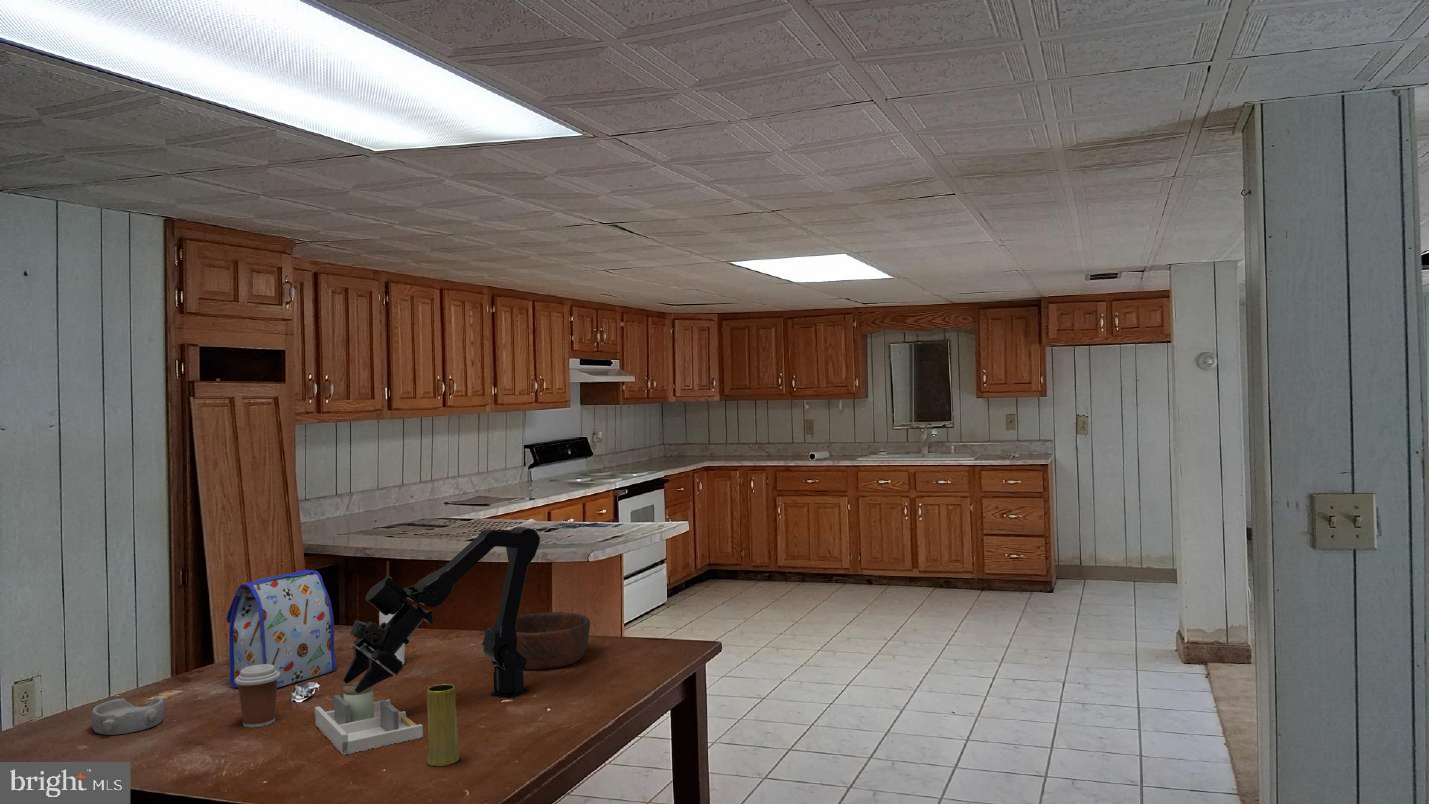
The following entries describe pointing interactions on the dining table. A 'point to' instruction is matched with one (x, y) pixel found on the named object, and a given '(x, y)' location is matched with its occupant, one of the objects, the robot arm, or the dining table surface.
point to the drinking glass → (401, 651)
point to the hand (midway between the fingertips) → (350, 687)
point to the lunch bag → (282, 627)
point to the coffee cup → (258, 694)
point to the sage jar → (359, 702)
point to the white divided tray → (368, 729)
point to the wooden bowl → (552, 639)
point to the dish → (126, 716)
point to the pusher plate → (341, 710)
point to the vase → (442, 725)
